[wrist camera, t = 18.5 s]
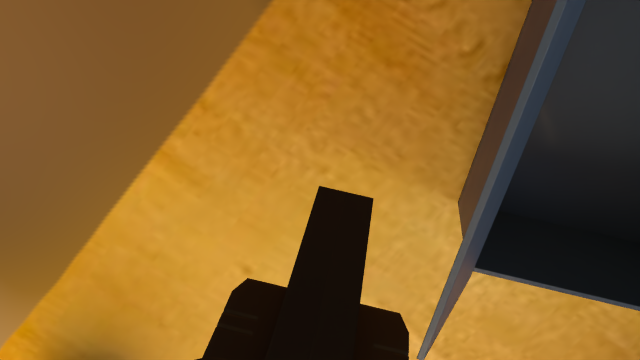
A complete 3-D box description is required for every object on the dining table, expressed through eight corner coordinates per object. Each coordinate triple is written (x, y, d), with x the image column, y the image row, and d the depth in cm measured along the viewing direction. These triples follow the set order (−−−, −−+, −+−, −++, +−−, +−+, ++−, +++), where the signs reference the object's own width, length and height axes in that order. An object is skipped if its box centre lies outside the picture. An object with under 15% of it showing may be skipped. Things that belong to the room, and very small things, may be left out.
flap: (422, 362, 23) (416, 358, 23) (470, 277, 29) (465, 275, 29) (602, -86, 14) (590, -88, 14) (619, -79, 20) (610, -80, 20)
